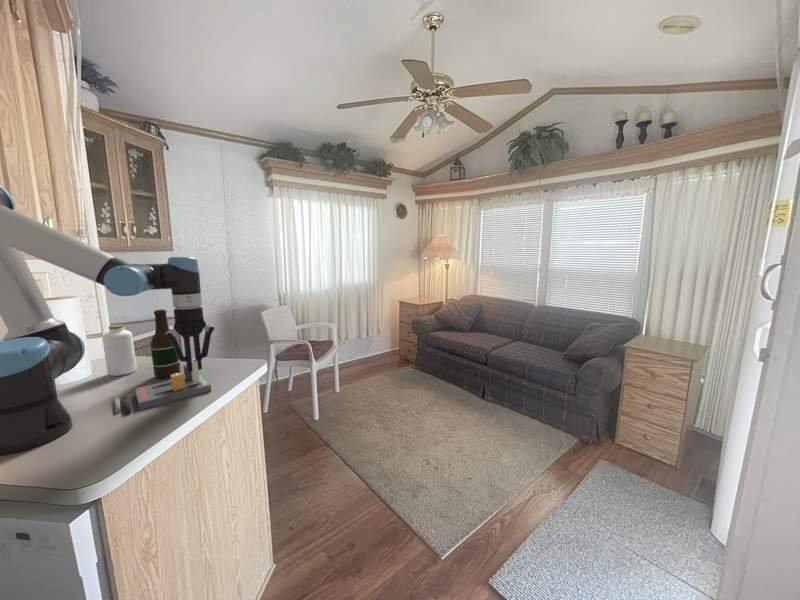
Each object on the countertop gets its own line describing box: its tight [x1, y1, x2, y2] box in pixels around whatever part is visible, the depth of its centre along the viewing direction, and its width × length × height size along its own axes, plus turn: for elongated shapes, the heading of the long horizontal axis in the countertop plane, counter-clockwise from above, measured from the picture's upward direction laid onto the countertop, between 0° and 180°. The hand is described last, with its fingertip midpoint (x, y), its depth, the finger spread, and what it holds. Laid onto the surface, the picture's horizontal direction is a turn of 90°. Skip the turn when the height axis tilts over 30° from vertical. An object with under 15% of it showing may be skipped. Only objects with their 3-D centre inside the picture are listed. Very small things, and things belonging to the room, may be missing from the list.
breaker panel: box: [134, 373, 212, 411], centre depth 103 cm, size 18×14×2 cm
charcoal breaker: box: [183, 364, 192, 380], centre depth 109 cm, size 3×3×4 cm
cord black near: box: [122, 395, 132, 415], centre depth 94 cm, size 13×1×1 cm, turn 42°
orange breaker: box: [170, 371, 185, 391], centre depth 101 cm, size 3×3×5 cm
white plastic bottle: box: [102, 324, 138, 377], centre depth 120 cm, size 8×8×18 cm
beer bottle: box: [150, 309, 181, 380], centre depth 117 cm, size 8×8×24 cm
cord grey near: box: [113, 396, 122, 414], centre depth 94 cm, size 11×1×1 cm, turn 42°
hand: (195, 380), depth 104 cm, fingers closed
